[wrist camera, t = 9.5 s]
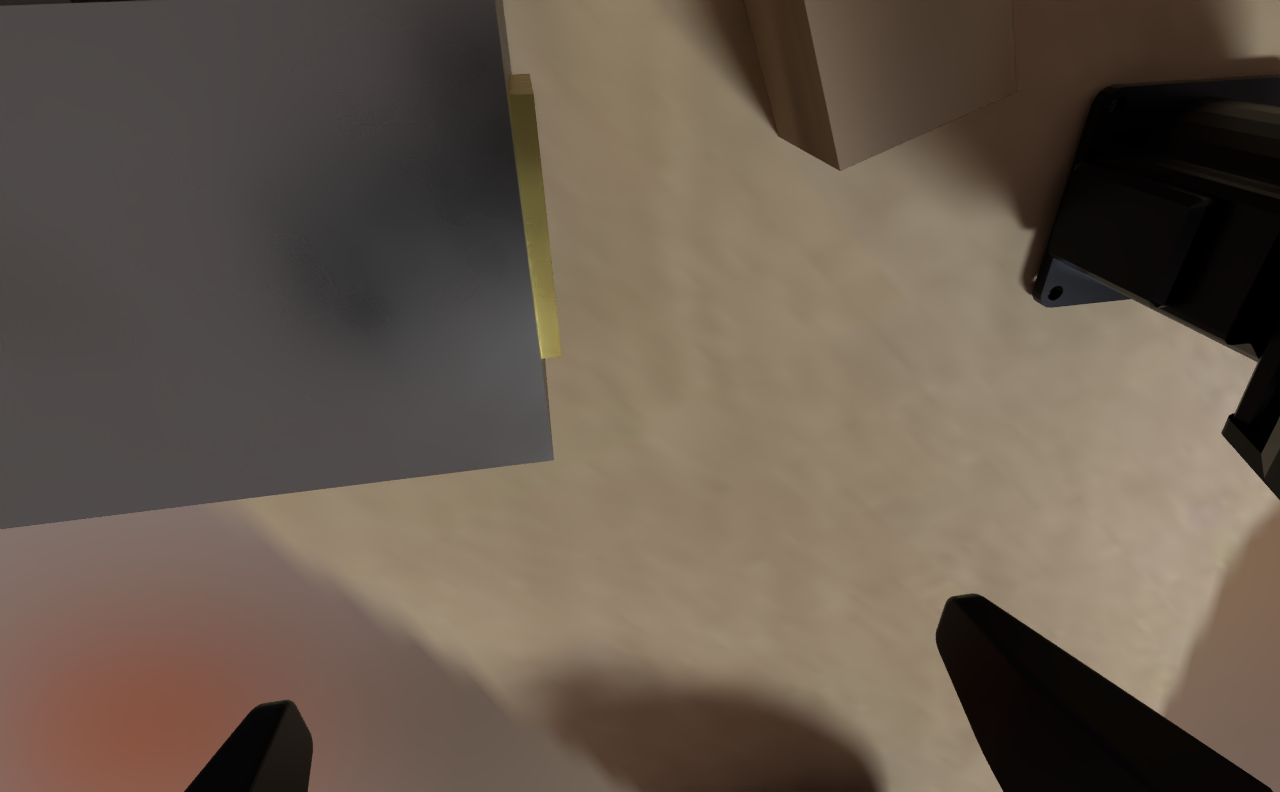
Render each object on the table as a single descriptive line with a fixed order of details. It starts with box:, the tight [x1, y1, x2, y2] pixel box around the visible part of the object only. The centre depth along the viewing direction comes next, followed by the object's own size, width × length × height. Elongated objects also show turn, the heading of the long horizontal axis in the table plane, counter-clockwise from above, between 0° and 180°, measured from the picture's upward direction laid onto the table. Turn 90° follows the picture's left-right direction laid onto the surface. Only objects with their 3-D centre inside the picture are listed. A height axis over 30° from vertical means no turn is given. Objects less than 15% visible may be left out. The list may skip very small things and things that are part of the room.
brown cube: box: [743, 0, 1017, 171], centre depth 14 cm, size 4×4×4 cm
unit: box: [0, 0, 562, 529], centre depth 13 cm, size 10×8×7 cm
